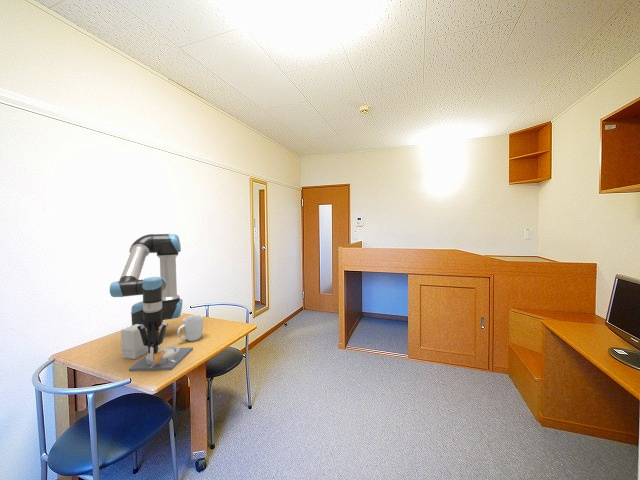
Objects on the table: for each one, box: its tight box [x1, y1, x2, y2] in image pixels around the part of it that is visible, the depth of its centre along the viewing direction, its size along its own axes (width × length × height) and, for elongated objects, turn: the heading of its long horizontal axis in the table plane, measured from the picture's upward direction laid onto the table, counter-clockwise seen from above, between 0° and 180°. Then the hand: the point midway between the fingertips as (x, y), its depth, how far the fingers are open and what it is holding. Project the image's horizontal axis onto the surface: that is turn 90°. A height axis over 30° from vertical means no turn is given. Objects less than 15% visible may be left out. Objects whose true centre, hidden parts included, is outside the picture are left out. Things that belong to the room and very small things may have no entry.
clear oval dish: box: [154, 347, 175, 363], centre depth 122 cm, size 16×10×6 cm, turn 19°
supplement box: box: [120, 324, 149, 360], centre depth 130 cm, size 9×9×15 cm
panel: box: [128, 345, 194, 372], centre depth 125 cm, size 20×20×4 cm
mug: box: [176, 314, 204, 342], centre depth 147 cm, size 15×11×13 cm
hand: (153, 359), depth 115 cm, fingers closed
